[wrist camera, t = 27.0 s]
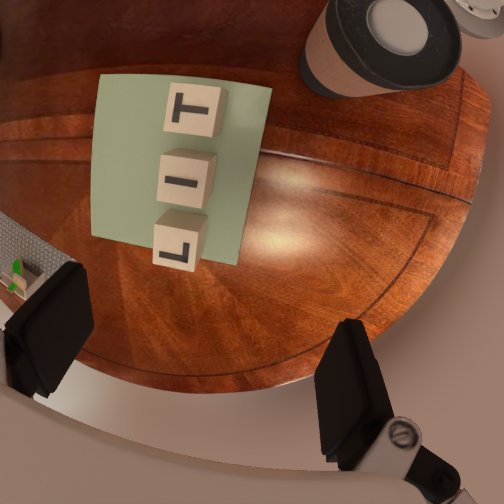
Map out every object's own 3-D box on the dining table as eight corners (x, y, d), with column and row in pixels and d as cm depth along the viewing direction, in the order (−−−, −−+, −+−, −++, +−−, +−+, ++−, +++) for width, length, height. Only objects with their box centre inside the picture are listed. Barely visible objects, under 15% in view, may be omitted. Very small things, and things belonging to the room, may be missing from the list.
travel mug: (345, 31, 25) (424, -40, 7) (373, 89, 28) (481, 78, 10) (284, 50, 27) (303, -25, 9) (313, 109, 30) (372, 107, 12)
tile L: (168, 208, 35) (153, 224, 31) (207, 216, 35) (198, 233, 31) (165, 245, 38) (151, 264, 33) (202, 252, 38) (193, 273, 33)
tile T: (184, 85, 29) (169, 82, 24) (228, 91, 29) (221, 87, 24) (177, 127, 31) (162, 131, 26) (220, 133, 31) (211, 137, 26)
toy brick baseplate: (-2, 210, 37) (-32, 228, 30) (77, 261, 41) (49, 288, 33) (-2, 274, 44) (-25, 295, 37) (69, 323, 47) (49, 351, 40)
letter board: (103, 74, 28) (100, 74, 28) (272, 88, 29) (272, 88, 28) (94, 233, 38) (91, 235, 38) (237, 262, 39) (236, 265, 38)
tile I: (175, 147, 32) (159, 154, 27) (217, 154, 32) (208, 161, 27) (170, 188, 34) (155, 201, 29) (211, 195, 34) (201, 209, 30)
